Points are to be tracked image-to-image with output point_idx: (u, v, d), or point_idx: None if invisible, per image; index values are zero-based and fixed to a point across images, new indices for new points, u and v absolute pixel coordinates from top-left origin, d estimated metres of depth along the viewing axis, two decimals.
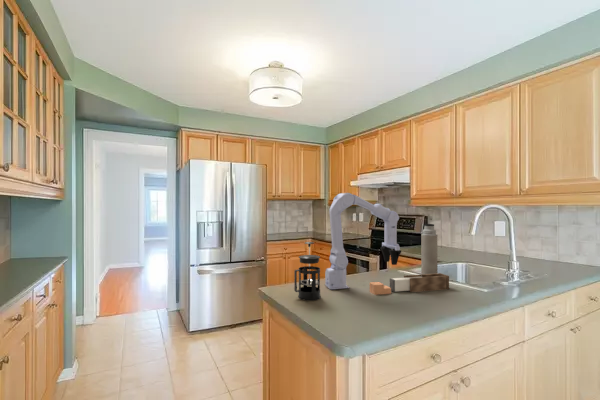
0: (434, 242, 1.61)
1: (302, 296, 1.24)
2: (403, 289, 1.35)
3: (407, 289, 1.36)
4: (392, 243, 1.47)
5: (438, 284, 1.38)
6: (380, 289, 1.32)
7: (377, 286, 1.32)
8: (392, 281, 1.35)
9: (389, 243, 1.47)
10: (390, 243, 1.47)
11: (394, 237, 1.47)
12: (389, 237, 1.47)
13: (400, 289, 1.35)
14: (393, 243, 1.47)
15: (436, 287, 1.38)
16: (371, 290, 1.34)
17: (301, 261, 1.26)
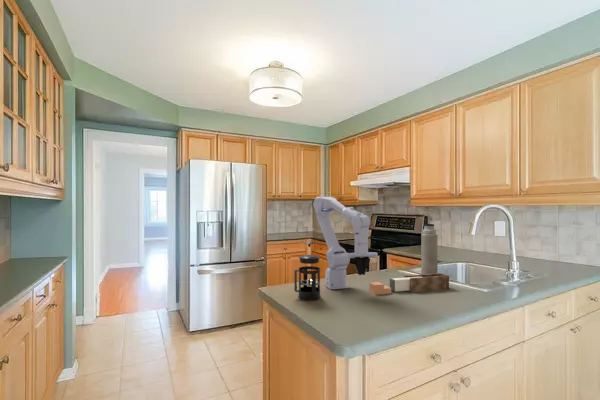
0: (434, 242, 1.61)
1: (302, 296, 1.24)
2: (403, 289, 1.35)
3: (407, 289, 1.36)
4: None
5: (438, 284, 1.38)
6: (380, 289, 1.32)
7: (377, 286, 1.32)
8: (392, 281, 1.35)
9: None
10: None
11: (356, 245, 1.31)
12: None
13: (400, 289, 1.35)
14: (355, 251, 1.32)
15: (436, 287, 1.38)
16: (371, 290, 1.34)
17: (301, 261, 1.26)
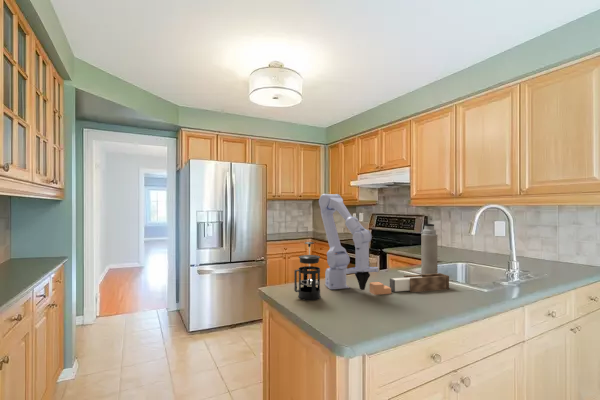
0: (434, 242, 1.61)
1: (302, 296, 1.24)
2: (403, 289, 1.35)
3: (407, 289, 1.36)
4: (355, 266, 1.32)
5: (438, 284, 1.38)
6: (380, 289, 1.32)
7: (377, 286, 1.32)
8: (392, 281, 1.35)
9: None
10: (355, 266, 1.33)
11: (357, 260, 1.31)
12: None
13: (400, 289, 1.35)
14: (356, 266, 1.32)
15: (436, 287, 1.38)
16: (371, 290, 1.34)
17: (301, 261, 1.26)
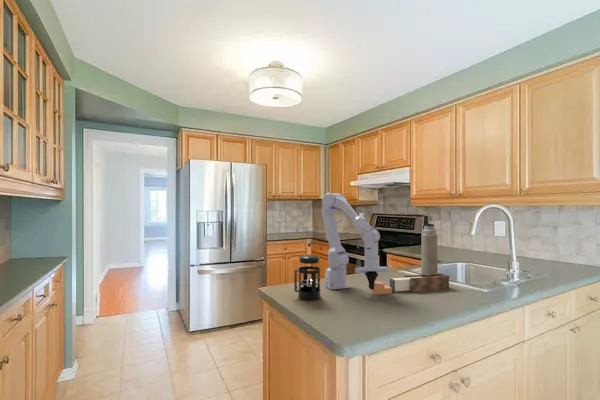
0: (434, 242, 1.61)
1: (302, 296, 1.24)
2: (403, 289, 1.35)
3: (407, 289, 1.36)
4: None
5: (438, 284, 1.38)
6: (380, 289, 1.32)
7: (378, 286, 1.32)
8: (392, 281, 1.35)
9: None
10: None
11: (366, 259, 1.32)
12: None
13: (400, 289, 1.35)
14: (365, 266, 1.33)
15: (436, 287, 1.38)
16: (371, 290, 1.34)
17: (301, 261, 1.26)
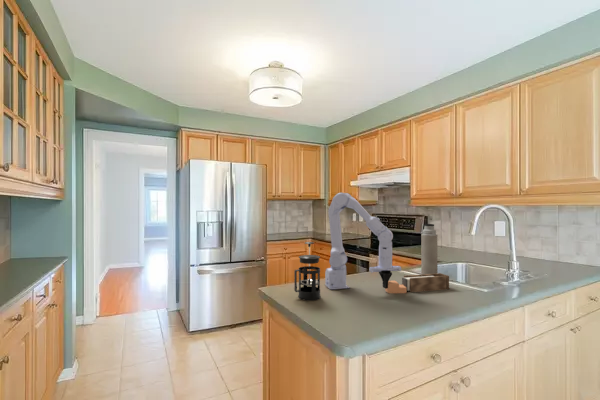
0: (434, 242, 1.61)
1: (302, 296, 1.24)
2: None
3: None
4: (379, 265, 1.35)
5: (438, 284, 1.38)
6: (394, 288, 1.33)
7: (392, 285, 1.33)
8: (405, 280, 1.36)
9: None
10: None
11: (380, 259, 1.34)
12: None
13: None
14: (379, 265, 1.34)
15: (436, 287, 1.38)
16: (386, 289, 1.36)
17: (301, 261, 1.26)
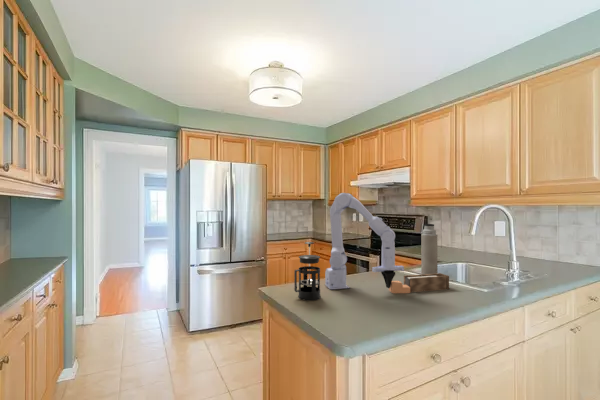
0: (434, 242, 1.61)
1: (302, 296, 1.24)
2: None
3: None
4: (382, 265, 1.35)
5: (438, 284, 1.38)
6: (398, 288, 1.34)
7: (395, 285, 1.34)
8: (408, 280, 1.37)
9: None
10: None
11: (383, 259, 1.34)
12: None
13: None
14: (382, 265, 1.35)
15: (436, 287, 1.38)
16: (390, 289, 1.36)
17: (301, 261, 1.26)
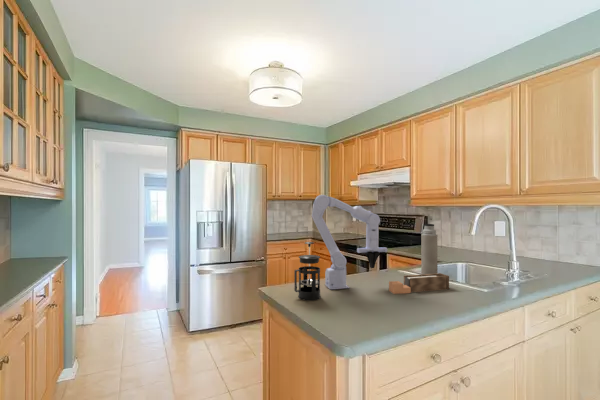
0: (434, 242, 1.61)
1: (302, 296, 1.24)
2: None
3: None
4: (366, 246, 1.44)
5: (438, 284, 1.38)
6: (399, 289, 1.33)
7: (396, 285, 1.33)
8: (407, 280, 1.37)
9: None
10: (366, 246, 1.45)
11: (367, 240, 1.43)
12: None
13: None
14: (366, 246, 1.43)
15: (436, 287, 1.38)
16: (390, 289, 1.36)
17: (301, 261, 1.26)
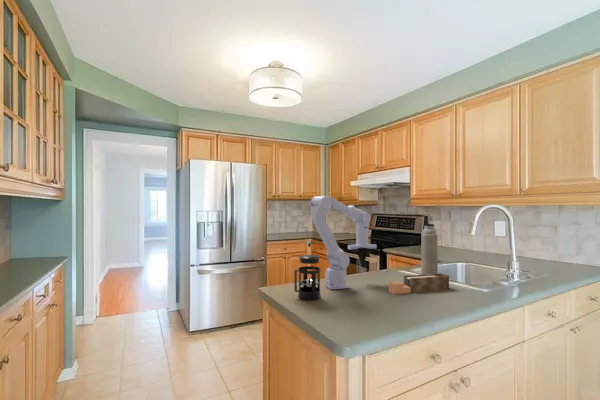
0: (434, 242, 1.61)
1: (302, 296, 1.24)
2: None
3: None
4: (356, 243, 1.51)
5: (438, 284, 1.38)
6: (399, 289, 1.33)
7: (397, 286, 1.32)
8: (407, 280, 1.37)
9: None
10: (356, 243, 1.51)
11: (357, 237, 1.50)
12: None
13: None
14: (357, 243, 1.50)
15: (436, 287, 1.38)
16: (390, 290, 1.35)
17: (301, 261, 1.26)
